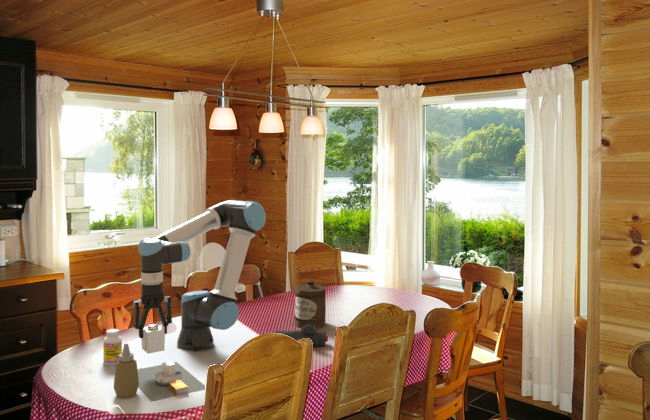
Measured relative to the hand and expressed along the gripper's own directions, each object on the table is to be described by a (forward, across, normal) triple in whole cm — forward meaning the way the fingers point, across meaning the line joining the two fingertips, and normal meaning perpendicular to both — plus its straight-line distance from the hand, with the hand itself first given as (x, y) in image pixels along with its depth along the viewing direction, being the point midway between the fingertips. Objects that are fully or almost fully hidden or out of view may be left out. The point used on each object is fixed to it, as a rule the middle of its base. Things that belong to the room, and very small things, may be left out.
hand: (153, 344), depth 214 cm
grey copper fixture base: (+11, +1, -15) cm, 19 cm away
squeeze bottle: (+11, -14, -15) cm, 23 cm away
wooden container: (+13, +84, +23) cm, 88 cm away
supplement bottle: (+11, -10, +19) cm, 24 cm away
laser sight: (+13, +65, 0) cm, 66 cm away
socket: (+2, 0, 0) cm, 2 cm away
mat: (+11, +1, -9) cm, 15 cm away
